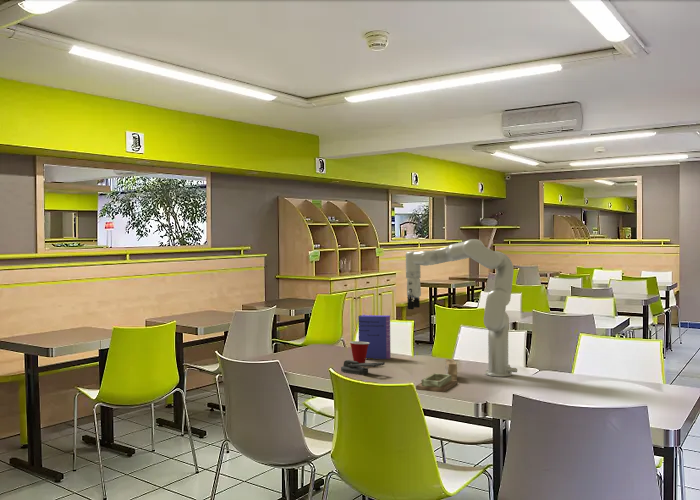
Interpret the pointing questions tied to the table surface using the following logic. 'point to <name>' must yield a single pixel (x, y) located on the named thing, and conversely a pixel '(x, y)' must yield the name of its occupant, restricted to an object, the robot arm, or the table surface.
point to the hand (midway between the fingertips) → (413, 308)
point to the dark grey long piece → (358, 367)
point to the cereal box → (375, 335)
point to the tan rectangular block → (451, 368)
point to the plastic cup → (359, 350)
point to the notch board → (437, 383)
